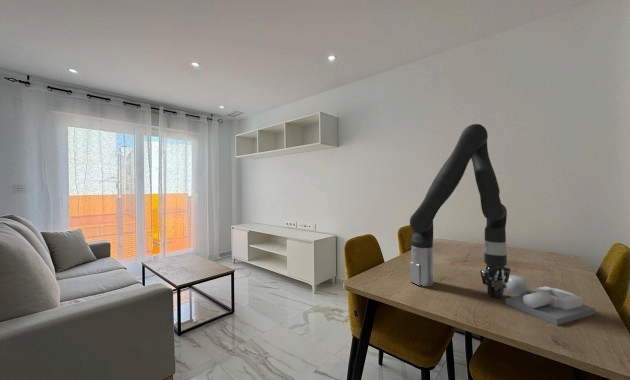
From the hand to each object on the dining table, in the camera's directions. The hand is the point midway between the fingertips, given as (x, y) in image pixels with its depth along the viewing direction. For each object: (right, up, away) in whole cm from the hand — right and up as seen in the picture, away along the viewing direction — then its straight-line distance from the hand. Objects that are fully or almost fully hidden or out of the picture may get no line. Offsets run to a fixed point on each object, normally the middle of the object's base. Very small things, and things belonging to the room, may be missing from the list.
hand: (495, 294), depth 103 cm
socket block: (+11, -1, -11) cm, 16 cm away
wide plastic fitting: (+11, -1, +4) cm, 12 cm away
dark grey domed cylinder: (0, -1, 0) cm, 1 cm away
